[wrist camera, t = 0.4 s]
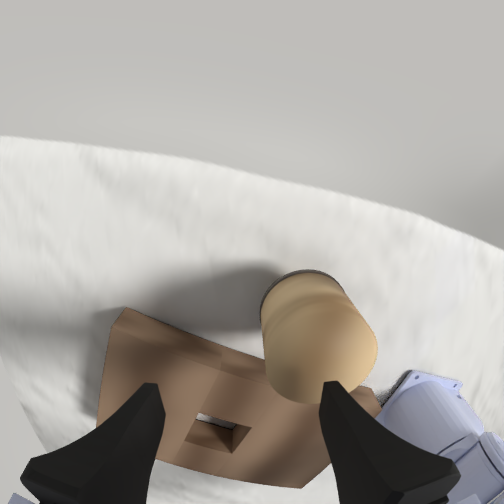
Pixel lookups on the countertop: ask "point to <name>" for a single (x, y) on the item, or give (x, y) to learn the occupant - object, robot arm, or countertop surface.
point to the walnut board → (216, 405)
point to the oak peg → (313, 337)
